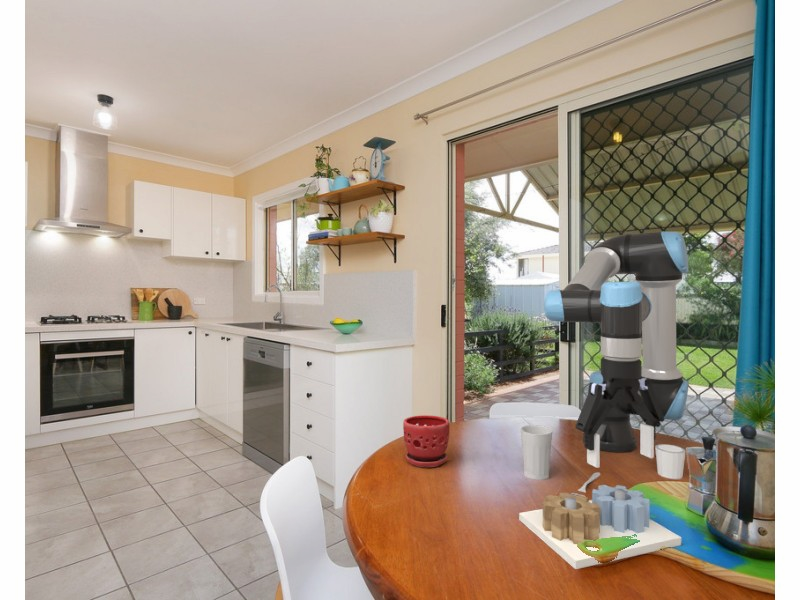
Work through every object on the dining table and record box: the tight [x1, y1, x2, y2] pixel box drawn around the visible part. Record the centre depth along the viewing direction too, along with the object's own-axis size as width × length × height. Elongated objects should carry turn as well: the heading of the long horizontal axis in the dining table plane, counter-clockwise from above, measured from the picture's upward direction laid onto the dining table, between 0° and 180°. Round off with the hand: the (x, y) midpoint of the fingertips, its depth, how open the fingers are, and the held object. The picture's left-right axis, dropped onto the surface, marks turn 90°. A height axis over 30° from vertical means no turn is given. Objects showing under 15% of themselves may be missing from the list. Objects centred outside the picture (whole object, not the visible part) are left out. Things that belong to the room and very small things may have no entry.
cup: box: [520, 424, 553, 481], centre depth 121 cm, size 8×8×12 cm
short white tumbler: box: [654, 443, 686, 480], centre depth 120 cm, size 7×7×7 cm
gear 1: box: [542, 492, 600, 544], centre depth 91 cm, size 10×10×5 cm
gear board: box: [518, 489, 682, 570], centre depth 93 cm, size 24×18×8 cm
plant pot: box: [402, 414, 450, 469], centre depth 131 cm, size 13×13×12 cm
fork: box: [569, 471, 601, 497], centre depth 115 cm, size 3×24×2 cm, turn 141°
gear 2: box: [591, 484, 650, 533], centre depth 94 cm, size 10×10×5 cm
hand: (620, 460), depth 94 cm, fingers open, 13 cm apart
